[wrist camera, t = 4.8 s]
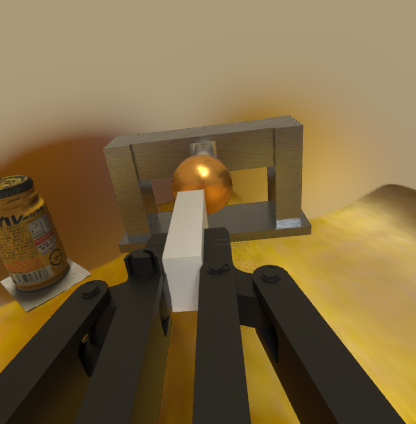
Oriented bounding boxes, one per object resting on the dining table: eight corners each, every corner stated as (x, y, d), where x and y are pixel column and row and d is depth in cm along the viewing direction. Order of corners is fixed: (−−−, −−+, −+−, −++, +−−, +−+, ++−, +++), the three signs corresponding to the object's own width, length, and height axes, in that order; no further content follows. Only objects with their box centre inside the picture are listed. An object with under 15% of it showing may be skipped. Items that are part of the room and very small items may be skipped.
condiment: (59, 252, 41) (25, 167, 36) (92, 275, 36) (57, 179, 30) (0, 283, 36) (-50, 190, 31) (27, 314, 31) (-28, 209, 26)
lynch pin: (226, 162, 40) (222, 121, 37) (234, 212, 27) (229, 155, 25) (187, 166, 40) (180, 126, 38) (176, 217, 27) (166, 162, 25)
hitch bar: (294, 205, 45) (296, 113, 39) (310, 234, 38) (315, 125, 32) (134, 222, 46) (111, 135, 40) (120, 252, 39) (90, 152, 33)
